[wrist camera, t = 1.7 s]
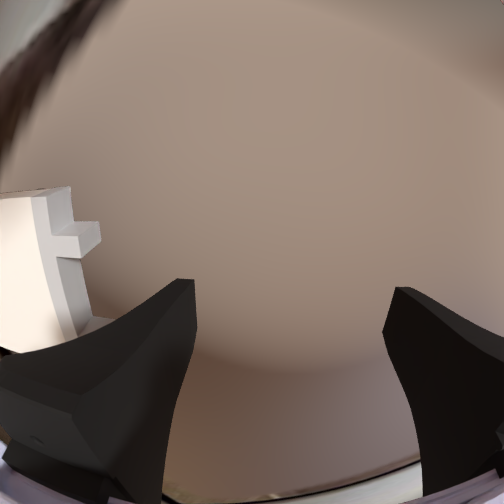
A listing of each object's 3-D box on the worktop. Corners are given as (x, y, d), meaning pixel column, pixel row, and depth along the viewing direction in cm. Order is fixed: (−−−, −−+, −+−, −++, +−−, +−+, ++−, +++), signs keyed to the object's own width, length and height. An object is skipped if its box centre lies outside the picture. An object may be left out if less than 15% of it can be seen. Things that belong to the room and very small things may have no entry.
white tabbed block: (130, 345, 14) (113, 379, 12) (-13, 314, 14) (-33, 334, 12) (105, 180, 11) (72, 195, 8) (-44, 195, 11) (-72, 207, 8)
